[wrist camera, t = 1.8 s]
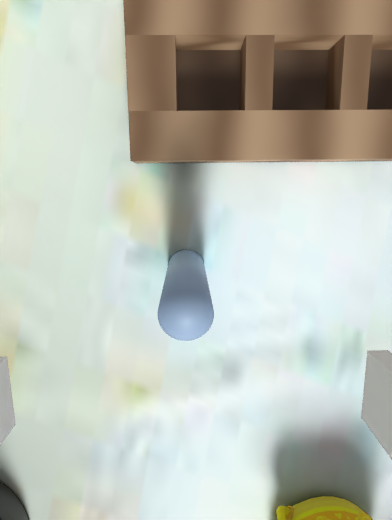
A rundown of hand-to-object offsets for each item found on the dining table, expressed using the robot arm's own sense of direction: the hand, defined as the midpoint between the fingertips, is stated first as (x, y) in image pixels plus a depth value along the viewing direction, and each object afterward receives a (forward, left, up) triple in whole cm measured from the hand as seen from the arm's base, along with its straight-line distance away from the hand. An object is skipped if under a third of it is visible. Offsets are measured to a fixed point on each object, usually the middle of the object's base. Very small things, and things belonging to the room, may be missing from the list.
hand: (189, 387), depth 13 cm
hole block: (+9, +15, -20) cm, 26 cm away
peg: (0, 0, -20) cm, 20 cm away
